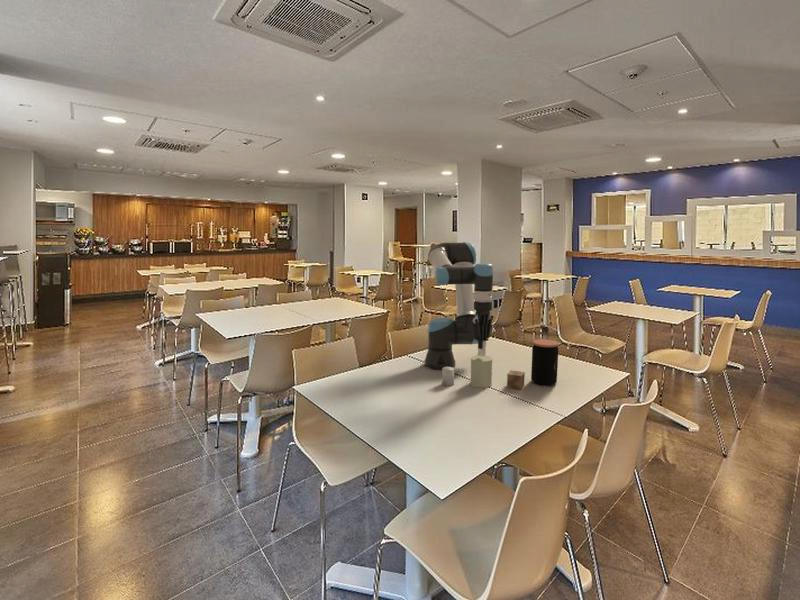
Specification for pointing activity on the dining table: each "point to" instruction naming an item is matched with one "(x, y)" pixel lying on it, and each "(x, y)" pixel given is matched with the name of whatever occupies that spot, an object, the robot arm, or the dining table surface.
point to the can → (481, 371)
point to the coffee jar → (544, 362)
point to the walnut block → (515, 379)
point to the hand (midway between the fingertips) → (481, 355)
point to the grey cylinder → (448, 376)
